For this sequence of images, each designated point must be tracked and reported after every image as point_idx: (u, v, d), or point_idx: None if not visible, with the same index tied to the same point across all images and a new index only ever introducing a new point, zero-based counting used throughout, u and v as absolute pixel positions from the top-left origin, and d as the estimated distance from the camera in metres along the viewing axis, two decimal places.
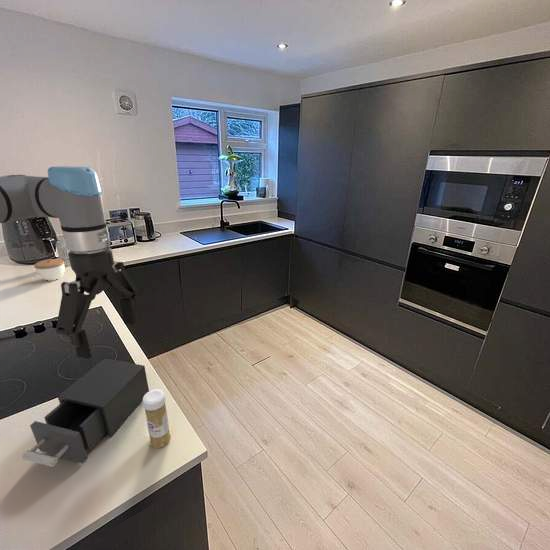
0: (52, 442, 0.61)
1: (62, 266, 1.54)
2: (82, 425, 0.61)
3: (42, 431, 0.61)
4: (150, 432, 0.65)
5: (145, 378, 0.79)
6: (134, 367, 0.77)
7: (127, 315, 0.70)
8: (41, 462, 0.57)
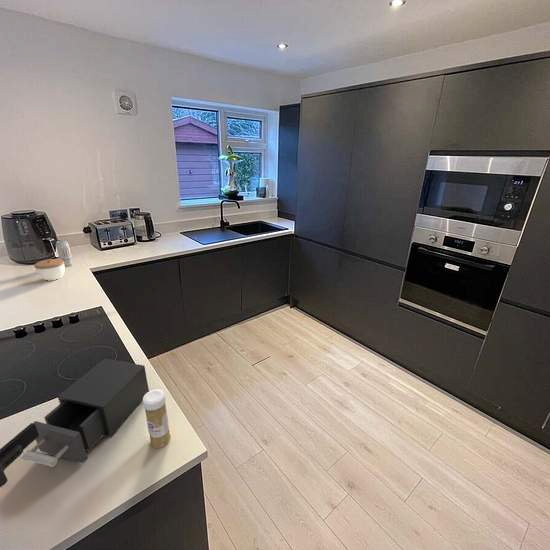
0: (52, 442, 0.61)
1: (62, 266, 1.54)
2: (82, 425, 0.61)
3: (42, 431, 0.61)
4: (150, 432, 0.65)
5: (145, 378, 0.79)
6: (134, 367, 0.77)
7: None
8: (41, 462, 0.57)
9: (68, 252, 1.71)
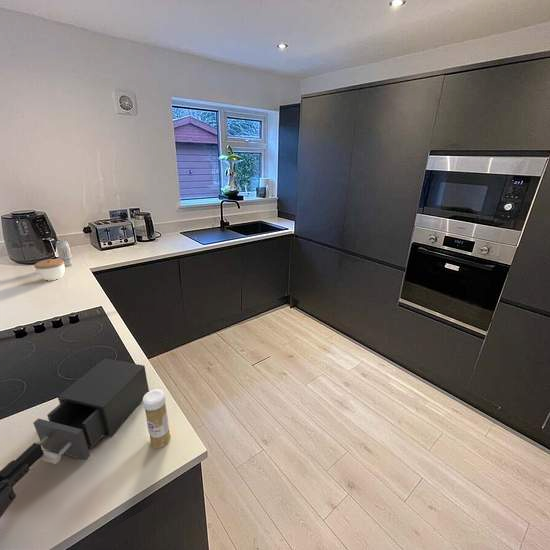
0: (55, 439, 0.62)
1: (62, 266, 1.54)
2: (85, 422, 0.62)
3: (45, 429, 0.61)
4: (150, 432, 0.65)
5: (145, 378, 0.79)
6: (134, 367, 0.77)
7: None
8: (44, 459, 0.57)
9: (68, 252, 1.71)
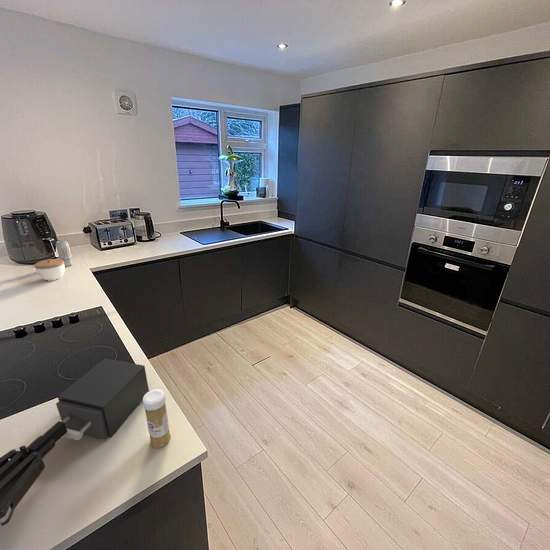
0: (76, 419, 0.67)
1: (62, 266, 1.54)
2: None
3: (67, 409, 0.66)
4: (150, 432, 0.65)
5: (145, 378, 0.79)
6: (134, 367, 0.77)
7: None
8: (68, 436, 0.62)
9: (68, 252, 1.71)
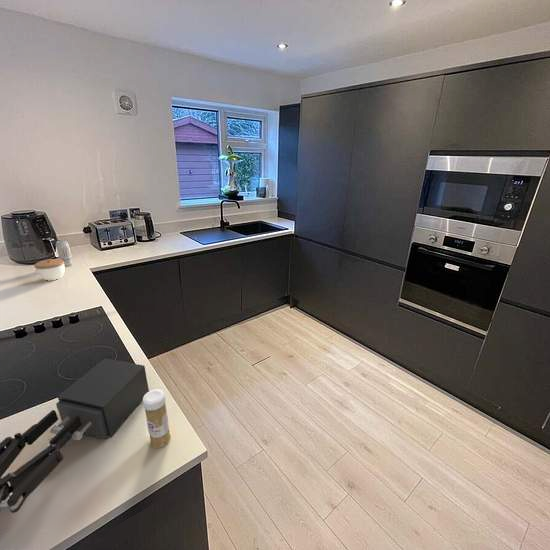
0: None
1: (62, 266, 1.54)
2: None
3: (67, 409, 0.66)
4: (150, 432, 0.65)
5: (145, 378, 0.79)
6: (134, 367, 0.77)
7: None
8: None
9: (68, 252, 1.71)
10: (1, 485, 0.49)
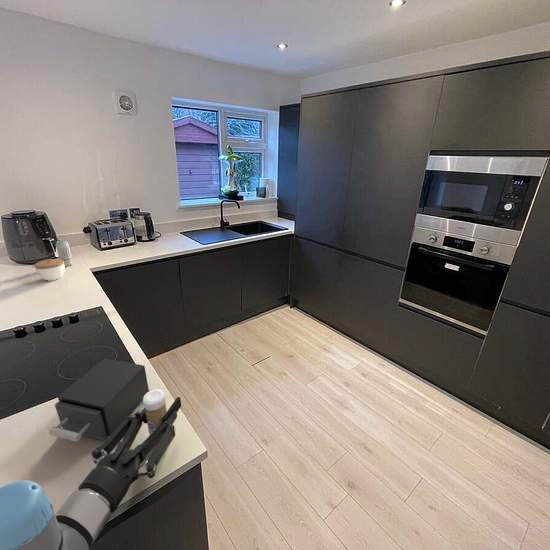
0: (75, 420, 0.66)
1: (62, 266, 1.54)
2: None
3: (65, 410, 0.66)
4: (150, 432, 0.65)
5: (145, 378, 0.79)
6: (134, 367, 0.77)
7: None
8: (66, 437, 0.62)
9: (68, 252, 1.71)
10: (136, 454, 0.55)
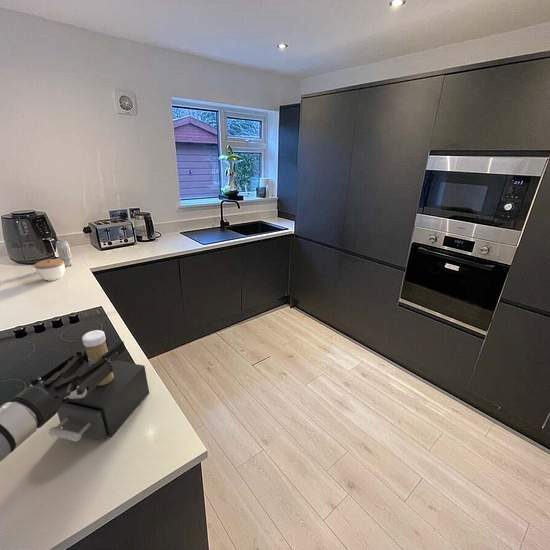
0: (75, 420, 0.66)
1: (62, 266, 1.54)
2: None
3: (65, 410, 0.66)
4: None
5: (145, 378, 0.79)
6: (134, 367, 0.77)
7: None
8: (66, 437, 0.62)
9: (68, 252, 1.71)
10: (69, 381, 0.60)
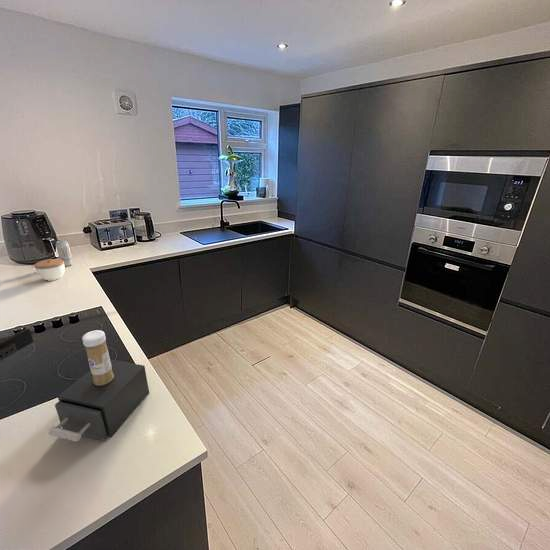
0: (75, 420, 0.66)
1: (62, 266, 1.54)
2: None
3: (65, 410, 0.66)
4: (91, 370, 0.69)
5: (145, 378, 0.79)
6: (134, 367, 0.77)
7: None
8: (66, 437, 0.62)
9: (68, 252, 1.71)
10: None
